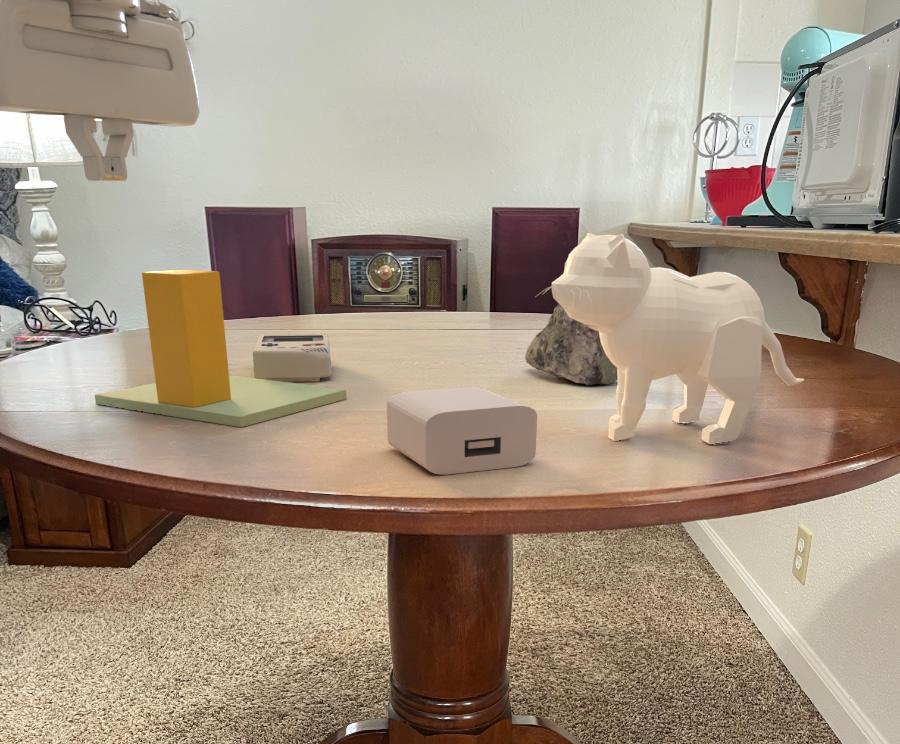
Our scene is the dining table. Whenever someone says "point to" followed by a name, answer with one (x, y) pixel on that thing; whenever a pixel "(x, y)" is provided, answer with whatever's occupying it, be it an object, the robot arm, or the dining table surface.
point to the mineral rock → (571, 351)
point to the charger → (461, 429)
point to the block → (187, 336)
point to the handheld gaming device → (292, 357)
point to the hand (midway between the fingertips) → (107, 181)
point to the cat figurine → (669, 332)
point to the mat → (231, 401)
